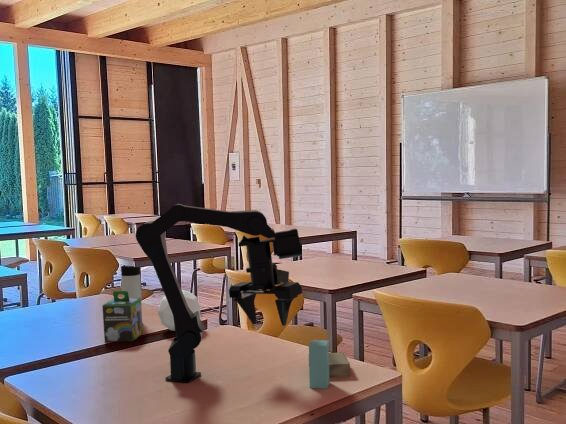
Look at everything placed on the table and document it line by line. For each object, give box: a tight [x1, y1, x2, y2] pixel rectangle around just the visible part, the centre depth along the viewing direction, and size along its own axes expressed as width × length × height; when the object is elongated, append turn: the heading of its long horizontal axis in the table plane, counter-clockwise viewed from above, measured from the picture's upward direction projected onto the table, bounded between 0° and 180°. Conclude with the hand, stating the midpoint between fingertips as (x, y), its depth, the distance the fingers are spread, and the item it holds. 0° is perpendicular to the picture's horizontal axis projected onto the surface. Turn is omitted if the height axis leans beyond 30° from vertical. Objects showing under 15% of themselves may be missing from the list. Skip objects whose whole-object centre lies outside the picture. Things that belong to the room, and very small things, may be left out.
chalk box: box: [102, 290, 144, 343], centre depth 180 cm, size 9×9×15 cm
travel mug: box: [120, 265, 143, 314], centre depth 197 cm, size 6×7×20 cm
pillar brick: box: [308, 339, 330, 390], centre depth 136 cm, size 4×4×10 cm
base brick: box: [329, 352, 351, 378], centre depth 146 cm, size 9×9×4 cm
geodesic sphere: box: [157, 288, 201, 332], centre depth 187 cm, size 14×14×14 cm
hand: (269, 324), depth 144 cm, fingers open, 9 cm apart
